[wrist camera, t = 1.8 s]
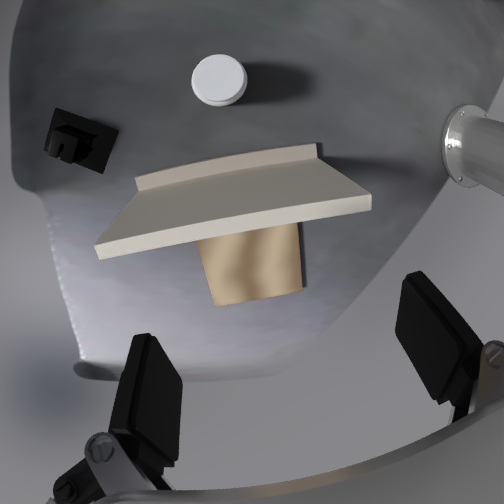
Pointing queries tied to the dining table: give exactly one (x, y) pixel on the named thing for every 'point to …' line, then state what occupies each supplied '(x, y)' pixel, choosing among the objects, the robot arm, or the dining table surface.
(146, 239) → the screen
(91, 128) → the black phone stand
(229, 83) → the supplement bottle
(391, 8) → the dining table surface
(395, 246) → the dining table surface
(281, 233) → the coaster
